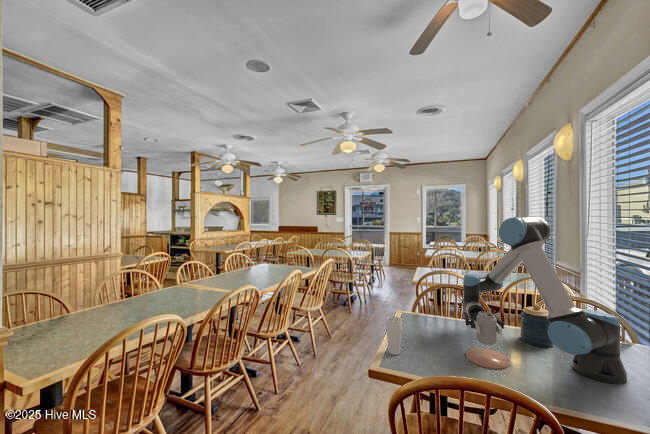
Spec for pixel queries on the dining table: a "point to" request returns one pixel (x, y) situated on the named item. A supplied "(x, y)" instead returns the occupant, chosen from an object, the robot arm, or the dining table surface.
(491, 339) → the can
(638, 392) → the dining table surface
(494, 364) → the terracotta plate
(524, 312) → the canister
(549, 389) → the dining table surface
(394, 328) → the drinking glass
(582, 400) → the dining table surface
